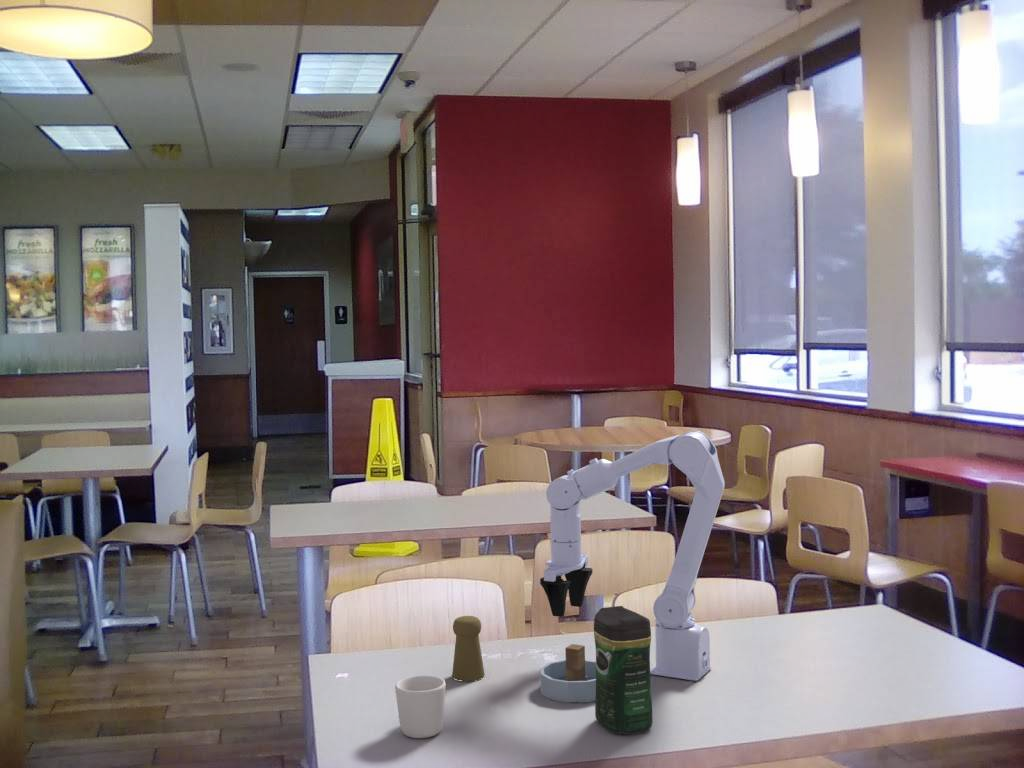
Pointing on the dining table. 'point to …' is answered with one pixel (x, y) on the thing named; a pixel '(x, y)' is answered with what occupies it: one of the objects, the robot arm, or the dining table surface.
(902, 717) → the dining table surface
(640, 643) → the coffee jar
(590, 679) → the pale blue round tray
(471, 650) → the cork
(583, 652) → the long wooden beam
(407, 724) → the cup
